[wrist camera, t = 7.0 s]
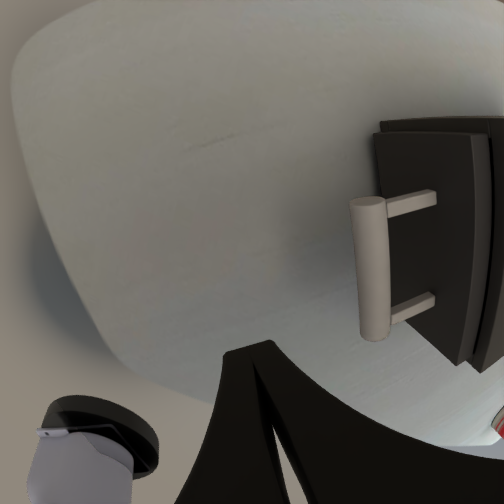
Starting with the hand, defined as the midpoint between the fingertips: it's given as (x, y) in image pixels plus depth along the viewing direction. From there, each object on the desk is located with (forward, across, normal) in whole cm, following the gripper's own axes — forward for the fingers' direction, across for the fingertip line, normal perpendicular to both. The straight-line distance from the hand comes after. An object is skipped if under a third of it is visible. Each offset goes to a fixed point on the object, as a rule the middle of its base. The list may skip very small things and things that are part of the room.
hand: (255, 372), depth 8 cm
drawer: (+8, -13, 0) cm, 15 cm away
